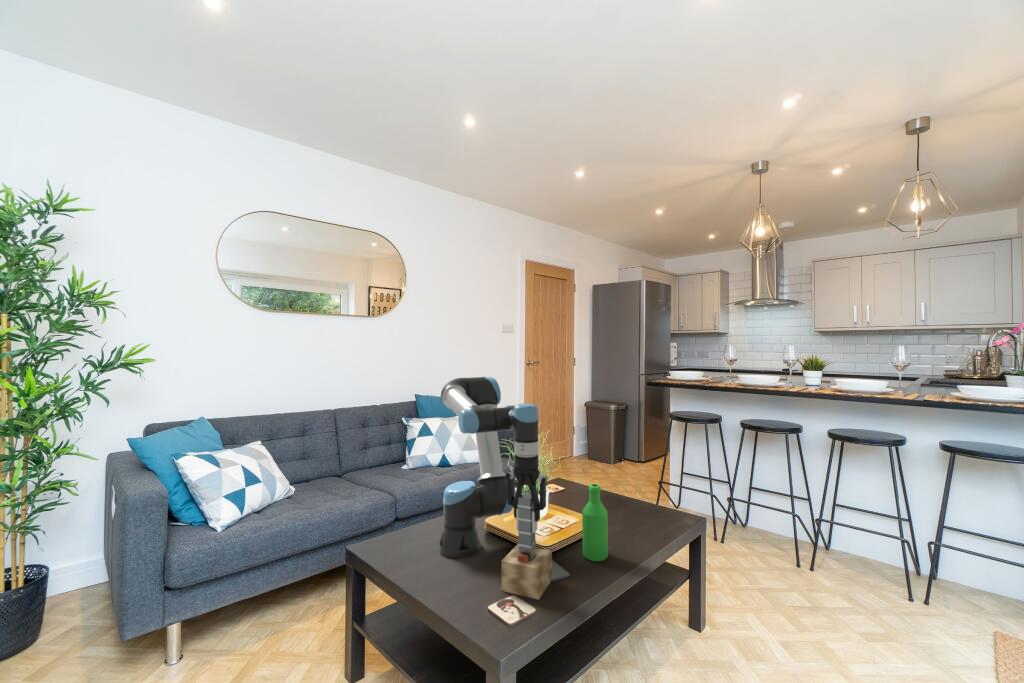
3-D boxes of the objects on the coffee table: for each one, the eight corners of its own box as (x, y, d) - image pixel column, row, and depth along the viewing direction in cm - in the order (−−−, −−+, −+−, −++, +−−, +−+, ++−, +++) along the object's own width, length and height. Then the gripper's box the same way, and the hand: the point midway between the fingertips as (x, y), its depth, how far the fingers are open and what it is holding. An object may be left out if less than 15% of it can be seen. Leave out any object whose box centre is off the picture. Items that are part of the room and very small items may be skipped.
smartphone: (547, 555, 155) (571, 574, 142) (547, 558, 155) (571, 577, 142) (528, 560, 152) (551, 580, 138) (528, 563, 152) (551, 583, 138)
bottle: (608, 563, 150) (607, 490, 150) (582, 561, 151) (581, 488, 152) (607, 551, 158) (607, 482, 158) (583, 549, 160) (582, 480, 160)
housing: (501, 590, 134) (501, 555, 134) (517, 572, 145) (517, 539, 145) (538, 599, 129) (538, 563, 129) (552, 579, 140) (551, 546, 140)
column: (517, 569, 136) (517, 497, 136) (523, 562, 140) (522, 493, 140) (531, 572, 134) (530, 499, 134) (536, 565, 138) (535, 494, 138)
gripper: (495, 454, 137) (496, 529, 137) (549, 460, 130) (549, 539, 130) (505, 449, 144) (506, 520, 144) (557, 454, 137) (557, 529, 137)
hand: (526, 529), depth 137 cm, fingers closed on column, 4 cm apart
